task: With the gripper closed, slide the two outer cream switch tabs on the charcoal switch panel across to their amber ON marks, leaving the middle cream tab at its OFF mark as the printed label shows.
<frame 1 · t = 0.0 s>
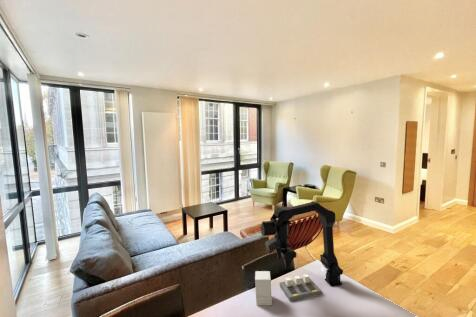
hand: (282, 263, 115), 15 cm above the table, fingers open, 9 cm apart
switch tab 2: (297, 280, 119), point 4 cm above the table, slide at -2.5 cm
switch tab 1: (306, 278, 120), point 4 cm above the table, slide at -2.5 cm
switch panel: (299, 290, 117), on the table
supplement box: (263, 300, 110), on the table
switch tab 3: (288, 281, 118), point 4 cm above the table, slide at -2.5 cm
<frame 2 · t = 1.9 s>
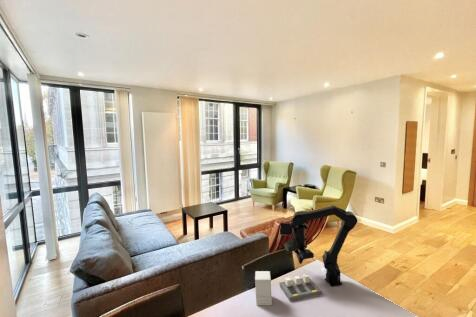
hand: (300, 263, 126), 9 cm above the table, fingers closed
nothing on the table moved.
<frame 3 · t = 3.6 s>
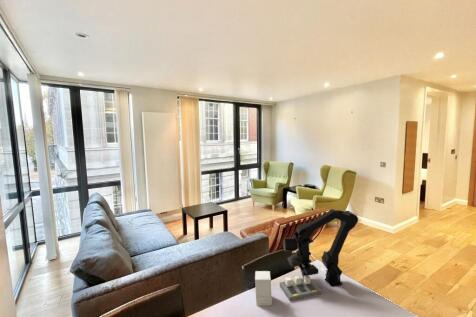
hand: (304, 278, 122), 3 cm above the table, fingers closed
switch tab 1: (307, 279, 119), point 4 cm above the table, slide at -1.6 cm, touching gripper
everything else where it was.
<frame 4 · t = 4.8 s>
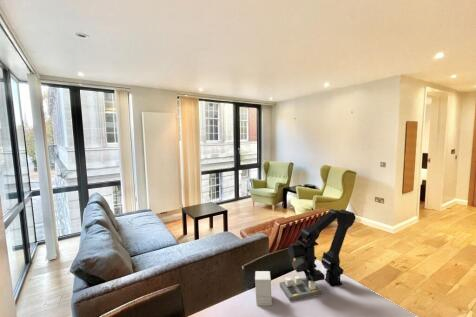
hand: (309, 283, 117), 3 cm above the table, fingers closed
switch tab 1: (312, 284, 115), point 4 cm above the table, slide at 3.2 cm, touching gripper
everything else where it was.
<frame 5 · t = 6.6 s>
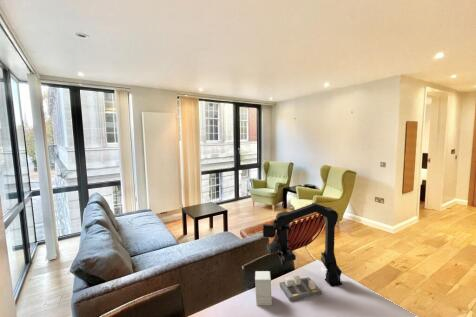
hand: (283, 265, 123), 9 cm above the table, fingers closed
switch tab 1: (311, 284, 115), point 4 cm above the table, slide at 3.1 cm
everything else where it was.
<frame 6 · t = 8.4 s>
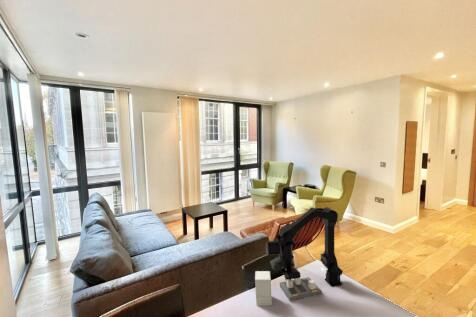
hand: (287, 282, 119), 3 cm above the table, fingers closed
switch tab 3: (289, 283, 116), point 4 cm above the table, slide at -1.1 cm, touching gripper
everything else where it was.
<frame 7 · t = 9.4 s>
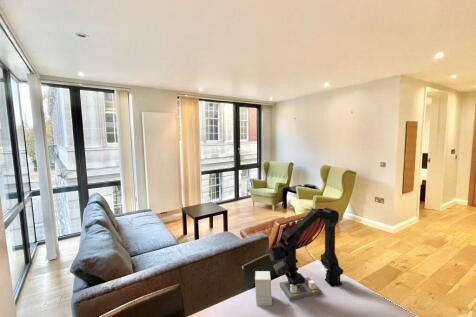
hand: (291, 287, 115), 3 cm above the table, fingers closed
switch tab 3: (293, 288, 112), point 4 cm above the table, slide at 3.1 cm, touching gripper
everything else where it was.
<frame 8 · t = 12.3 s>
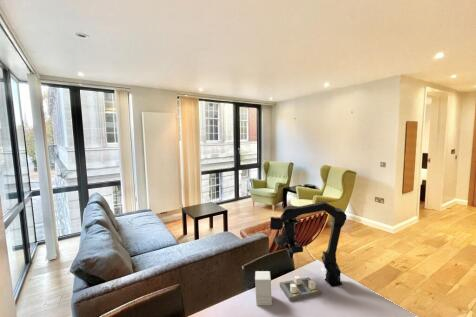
hand: (290, 258, 126), 12 cm above the table, fingers closed
switch tab 3: (293, 288, 112), point 4 cm above the table, slide at 3.1 cm
everything else where it was.
at the end: switch tab 1 slide at 3.1 cm; switch tab 3 slide at 3.1 cm; switch tab 2 slide at -2.5 cm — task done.
